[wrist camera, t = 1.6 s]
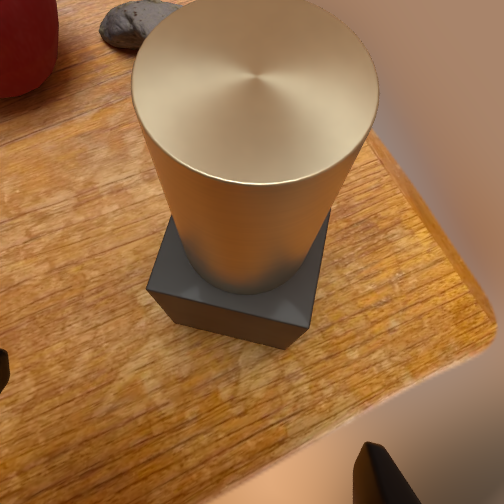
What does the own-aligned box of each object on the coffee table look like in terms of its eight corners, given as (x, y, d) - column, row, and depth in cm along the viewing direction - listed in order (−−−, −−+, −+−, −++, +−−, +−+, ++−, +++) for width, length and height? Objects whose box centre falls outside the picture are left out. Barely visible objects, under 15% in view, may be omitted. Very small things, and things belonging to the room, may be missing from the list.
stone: (89, 33, 31) (101, -39, 28) (153, 50, 35) (168, -10, 33) (185, 110, 25) (212, 30, 23) (246, 118, 30) (273, 53, 27)
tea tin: (314, 293, 16) (398, 185, 8) (180, 296, 16) (118, 186, 8) (303, 178, 18) (363, -9, 10) (184, 179, 18) (139, -13, 9)
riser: (285, 350, 23) (309, 329, 16) (173, 322, 23) (144, 289, 16) (306, 245, 26) (335, 184, 18) (204, 221, 26) (192, 152, 18)
